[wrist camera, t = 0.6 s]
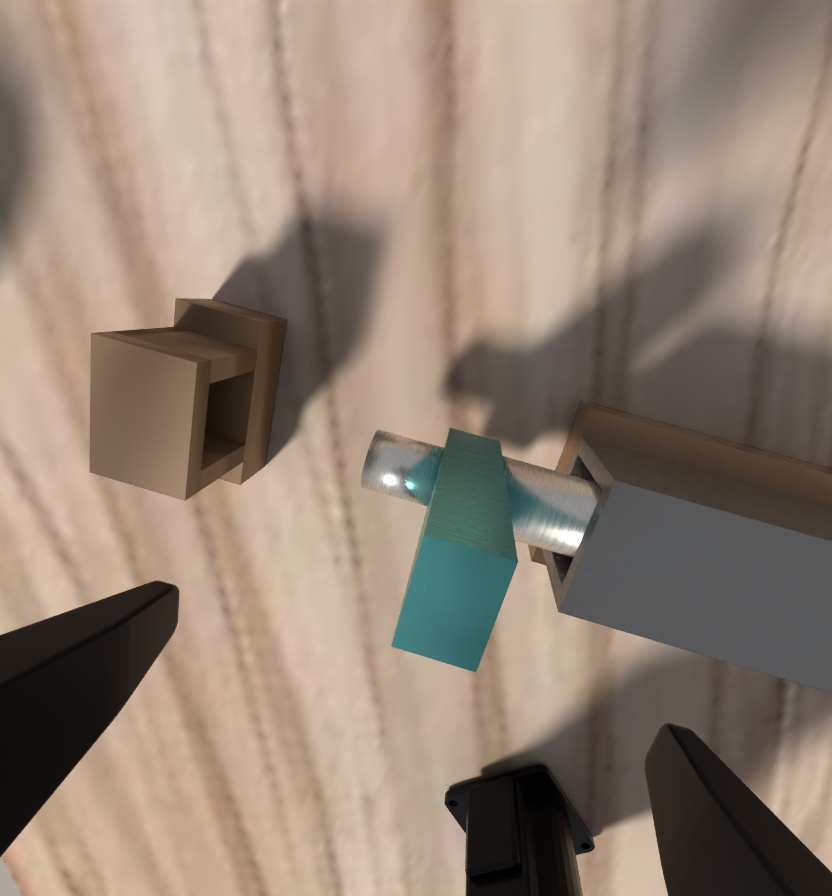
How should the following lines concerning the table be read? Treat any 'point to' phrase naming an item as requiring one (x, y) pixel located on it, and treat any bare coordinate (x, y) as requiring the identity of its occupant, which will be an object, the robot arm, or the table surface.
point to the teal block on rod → (471, 533)
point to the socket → (185, 398)
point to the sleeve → (701, 545)
